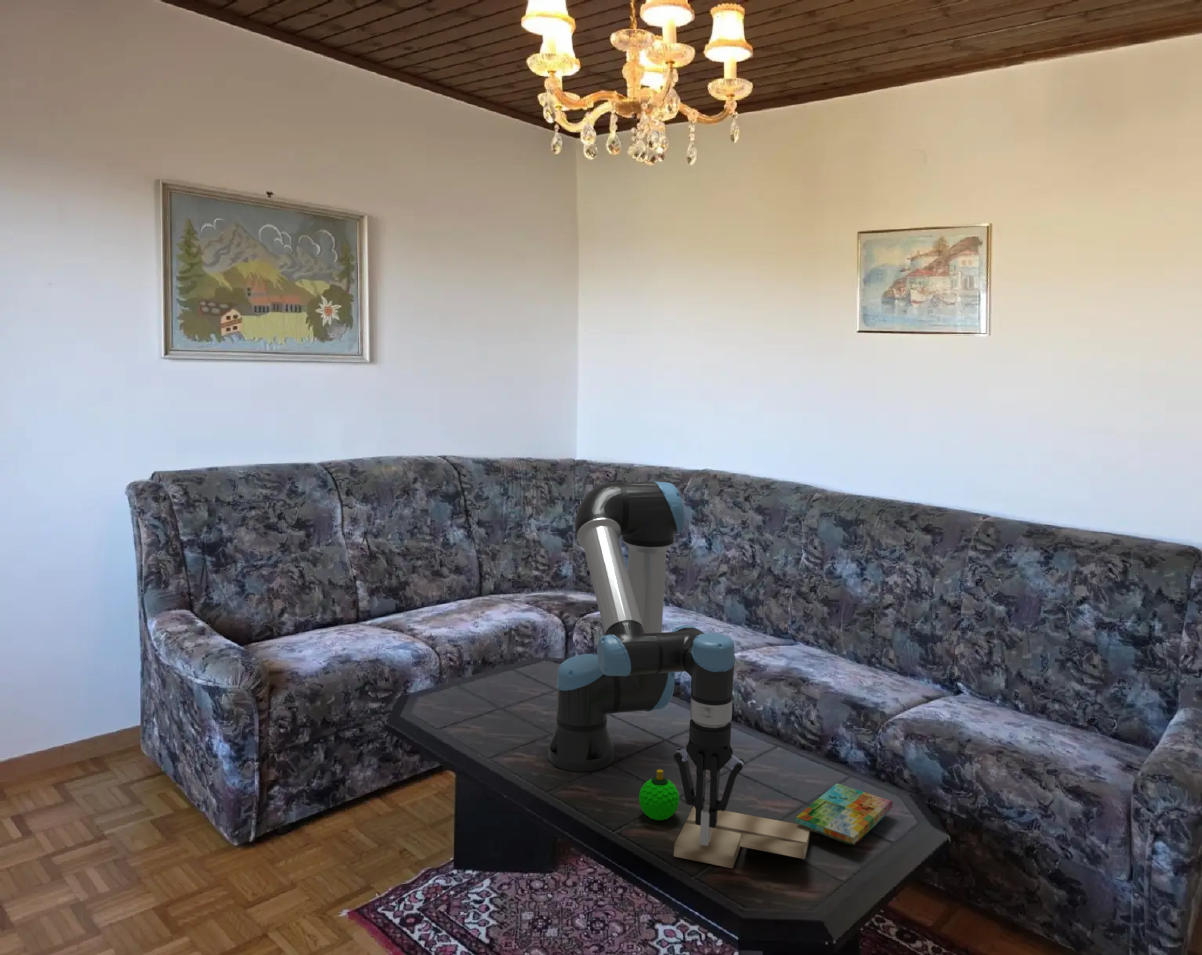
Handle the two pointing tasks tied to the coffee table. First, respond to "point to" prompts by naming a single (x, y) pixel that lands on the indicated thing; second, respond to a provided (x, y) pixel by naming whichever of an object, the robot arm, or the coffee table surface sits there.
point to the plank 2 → (772, 845)
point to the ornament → (659, 797)
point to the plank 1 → (718, 850)
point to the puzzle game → (844, 814)
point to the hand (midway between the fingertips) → (705, 841)
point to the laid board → (759, 827)
